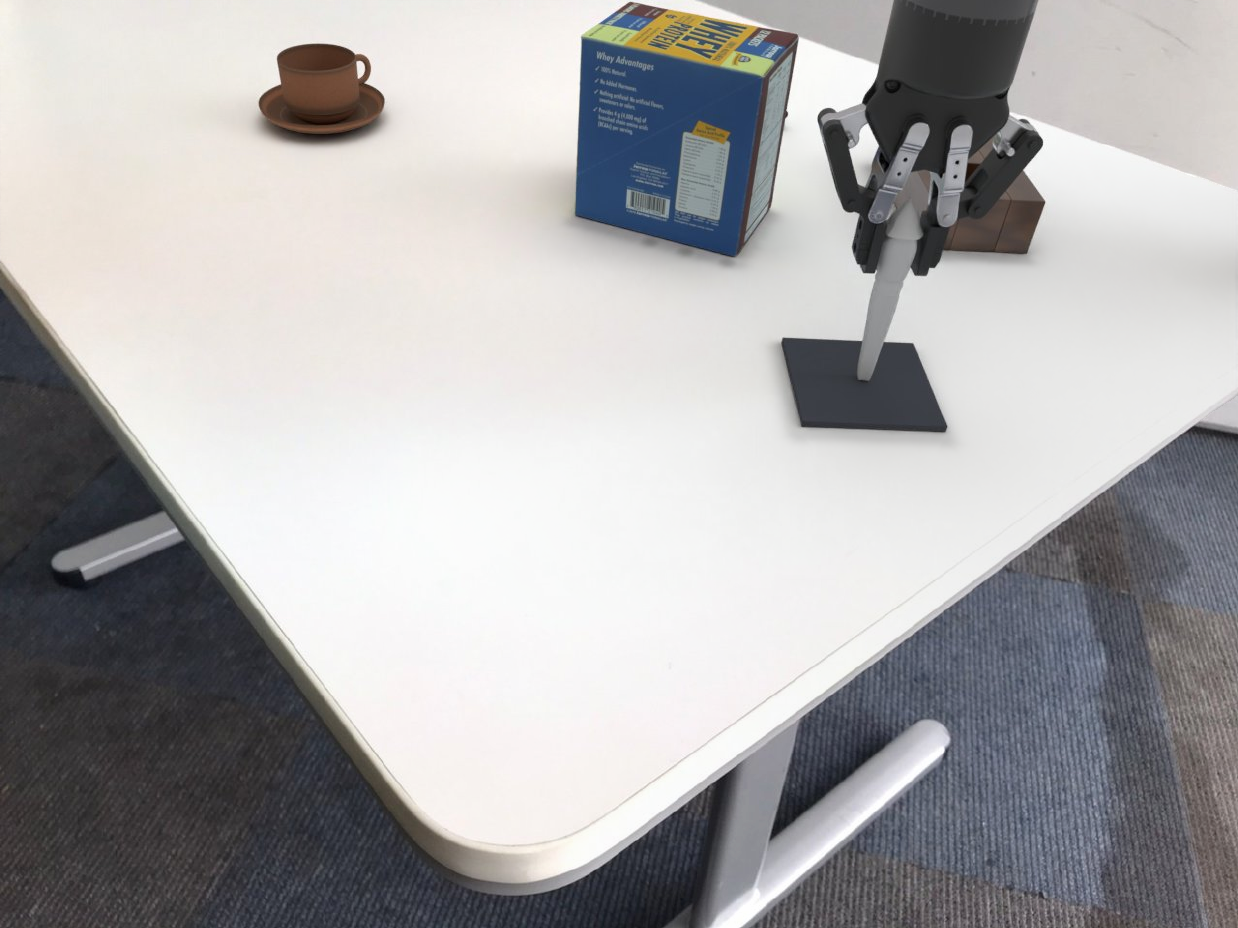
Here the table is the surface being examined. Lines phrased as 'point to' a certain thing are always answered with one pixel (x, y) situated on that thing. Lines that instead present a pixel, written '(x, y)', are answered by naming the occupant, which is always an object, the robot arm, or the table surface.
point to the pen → (889, 282)
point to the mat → (860, 387)
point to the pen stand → (1001, 226)
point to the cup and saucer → (321, 91)
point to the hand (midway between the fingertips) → (892, 267)
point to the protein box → (681, 124)
